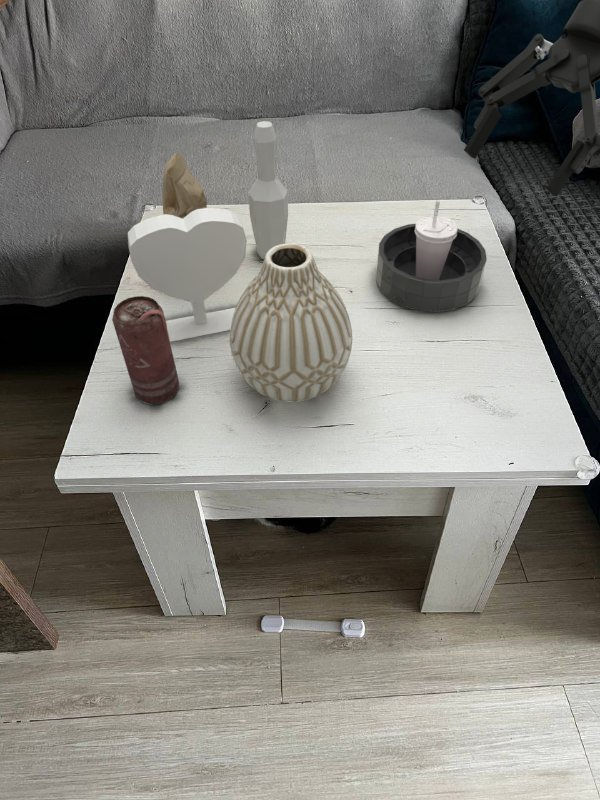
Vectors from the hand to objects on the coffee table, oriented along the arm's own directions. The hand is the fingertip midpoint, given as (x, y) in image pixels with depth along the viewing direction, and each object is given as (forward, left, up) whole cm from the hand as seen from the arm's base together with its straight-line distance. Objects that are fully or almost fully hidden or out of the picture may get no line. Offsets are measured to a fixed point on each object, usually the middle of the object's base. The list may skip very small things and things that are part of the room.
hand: (508, 173), depth 82 cm
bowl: (+8, +3, -20) cm, 22 cm away
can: (+21, +48, -20) cm, 56 cm away
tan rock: (+38, +27, -20) cm, 51 cm away
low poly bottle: (+33, +14, -20) cm, 41 cm away
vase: (+9, +34, -20) cm, 41 cm away
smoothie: (+8, +3, -20) cm, 21 cm away
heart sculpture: (+27, +35, -20) cm, 49 cm away
